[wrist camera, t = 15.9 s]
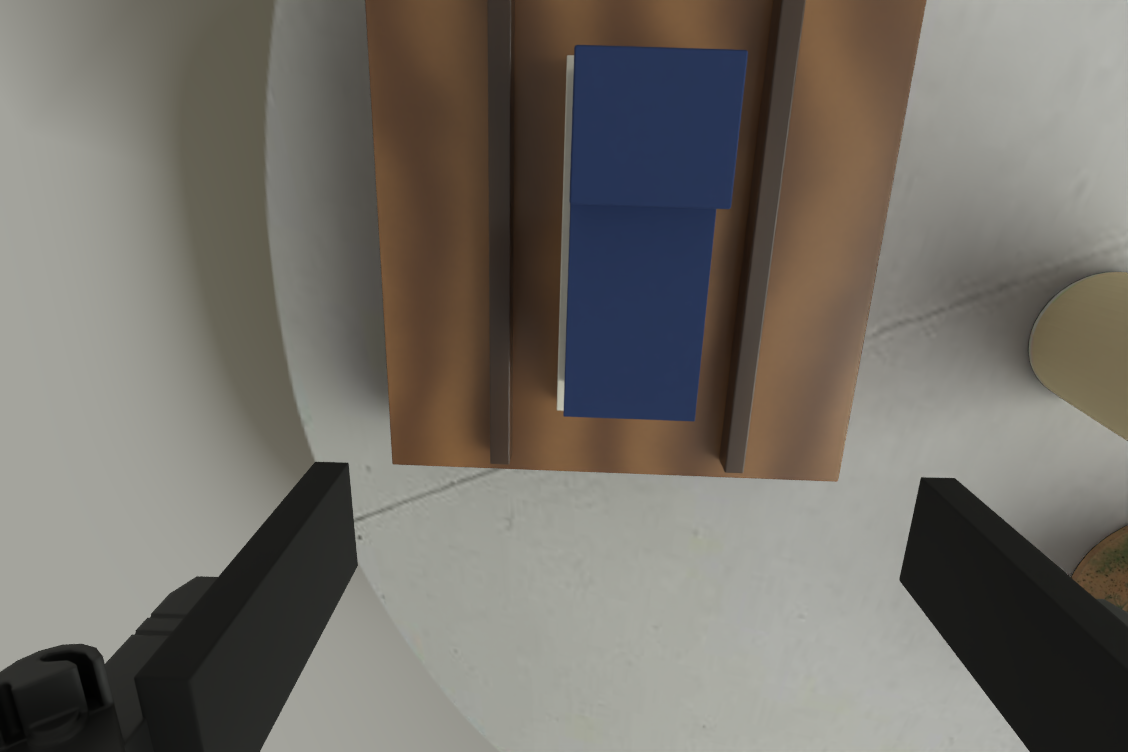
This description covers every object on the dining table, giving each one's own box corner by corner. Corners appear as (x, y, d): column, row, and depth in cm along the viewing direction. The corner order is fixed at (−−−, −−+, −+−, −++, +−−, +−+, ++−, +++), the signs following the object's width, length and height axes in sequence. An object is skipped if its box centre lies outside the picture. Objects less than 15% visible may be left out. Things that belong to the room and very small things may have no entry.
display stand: (418, 421, 42) (384, 477, 35) (398, -14, 34) (350, -58, 27) (802, 436, 41) (848, 495, 34) (872, -1, 33) (951, -40, 26)
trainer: (567, 59, 29) (562, 26, 21) (713, 64, 29) (763, 32, 21) (557, 399, 34) (550, 475, 26) (681, 403, 34) (711, 481, 26)
